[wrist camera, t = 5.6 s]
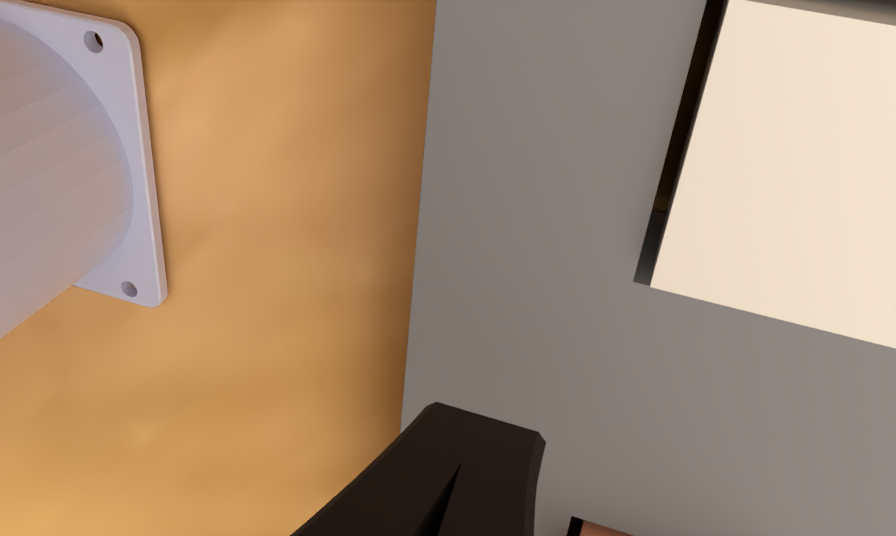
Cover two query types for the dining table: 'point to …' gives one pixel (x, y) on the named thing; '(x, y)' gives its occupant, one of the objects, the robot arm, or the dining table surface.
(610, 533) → the terracotta key
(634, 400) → the key console
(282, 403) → the dining table surface
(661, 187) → the dining table surface
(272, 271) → the dining table surface
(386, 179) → the dining table surface
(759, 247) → the white key
